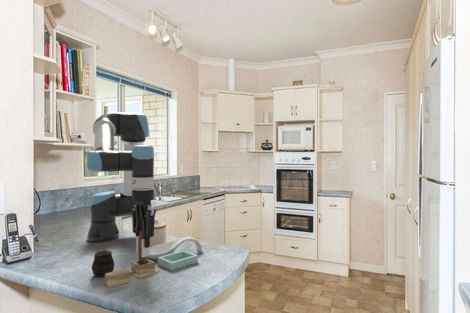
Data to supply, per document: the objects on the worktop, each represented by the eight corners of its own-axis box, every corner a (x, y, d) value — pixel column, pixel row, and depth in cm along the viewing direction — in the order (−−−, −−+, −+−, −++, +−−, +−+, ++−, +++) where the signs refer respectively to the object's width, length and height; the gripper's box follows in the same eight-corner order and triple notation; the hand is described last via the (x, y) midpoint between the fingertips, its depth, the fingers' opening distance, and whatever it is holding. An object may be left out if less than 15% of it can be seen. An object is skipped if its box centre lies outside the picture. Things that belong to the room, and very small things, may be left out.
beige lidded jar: (169, 244, 146) (169, 219, 146) (152, 248, 140) (152, 222, 140) (156, 239, 155) (156, 215, 155) (139, 242, 148) (139, 218, 148)
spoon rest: (148, 265, 119) (148, 246, 119) (142, 256, 130) (142, 239, 130) (205, 255, 130) (205, 238, 130) (195, 248, 141) (195, 232, 141)
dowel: (137, 270, 111) (137, 231, 111) (144, 268, 113) (145, 229, 113) (141, 272, 109) (141, 232, 108) (149, 270, 111) (149, 231, 111)
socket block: (127, 273, 111) (127, 262, 110) (147, 267, 116) (147, 256, 116) (138, 279, 105) (138, 267, 105) (159, 273, 111) (159, 262, 111)
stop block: (105, 286, 100) (105, 273, 100) (125, 279, 105) (125, 268, 105) (109, 289, 98) (109, 276, 98) (130, 282, 103) (130, 270, 103)
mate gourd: (110, 269, 114) (110, 242, 114) (118, 275, 109) (118, 247, 108) (89, 274, 109) (89, 246, 109) (96, 281, 104) (96, 251, 104)
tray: (157, 266, 118) (157, 257, 118) (183, 258, 126) (183, 250, 126) (171, 272, 111) (171, 263, 111) (197, 263, 120) (197, 255, 120)
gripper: (122, 188, 113) (122, 252, 113) (145, 191, 102) (145, 263, 102) (141, 186, 119) (141, 248, 119) (164, 190, 107) (164, 257, 108)
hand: (143, 254), depth 111 cm, fingers closed on dowel, 3 cm apart
